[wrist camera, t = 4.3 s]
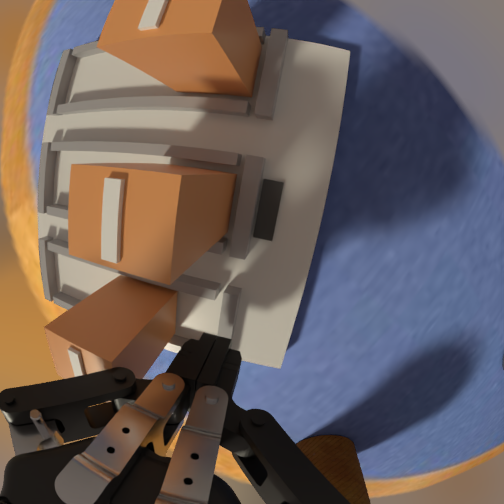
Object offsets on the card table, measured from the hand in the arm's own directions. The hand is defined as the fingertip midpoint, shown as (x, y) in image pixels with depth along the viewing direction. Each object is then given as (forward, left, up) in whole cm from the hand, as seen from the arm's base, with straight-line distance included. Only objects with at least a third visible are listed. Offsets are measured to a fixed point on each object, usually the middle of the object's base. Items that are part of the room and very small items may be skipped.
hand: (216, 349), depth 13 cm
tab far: (+5, 0, -2) cm, 6 cm away
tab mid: (+3, -7, -2) cm, 8 cm away
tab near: (+3, -14, -2) cm, 14 cm away
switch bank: (+6, -7, -4) cm, 10 cm away
